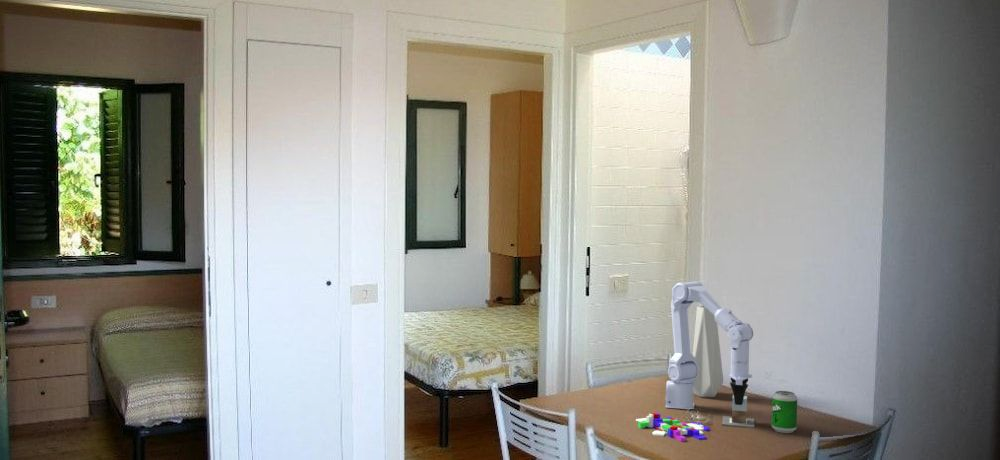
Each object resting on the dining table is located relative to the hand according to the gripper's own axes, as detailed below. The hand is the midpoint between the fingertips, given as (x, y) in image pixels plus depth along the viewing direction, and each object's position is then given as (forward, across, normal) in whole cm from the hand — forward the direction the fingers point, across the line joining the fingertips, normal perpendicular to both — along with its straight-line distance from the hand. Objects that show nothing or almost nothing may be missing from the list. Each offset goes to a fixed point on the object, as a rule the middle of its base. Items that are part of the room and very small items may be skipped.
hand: (738, 402), depth 279 cm
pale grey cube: (+2, 0, 0) cm, 2 cm away
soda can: (+7, -5, -14) cm, 16 cm away
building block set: (+8, -14, +19) cm, 25 cm away
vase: (+7, +35, +12) cm, 38 cm away
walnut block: (+6, 0, 0) cm, 6 cm away
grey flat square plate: (+7, 0, 0) cm, 7 cm away
